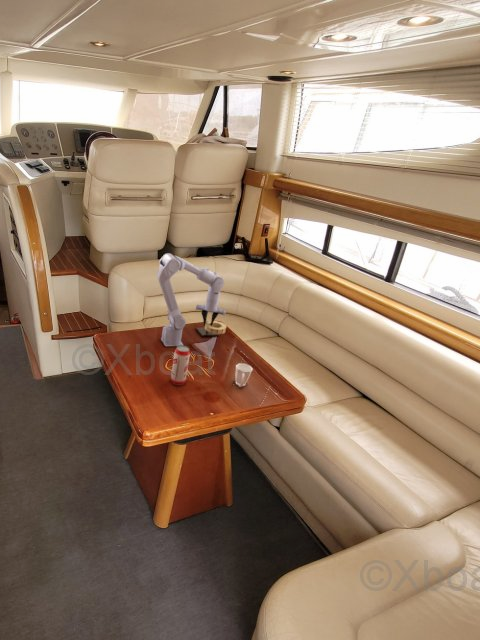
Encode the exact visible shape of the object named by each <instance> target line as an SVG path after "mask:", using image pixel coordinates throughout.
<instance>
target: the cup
mask: <svg viewBox="0 0 480 640" xmlns="http://www.w3.org/2000/svg"><path fill="white" fill-rule="evenodd" d="M253 369H254V368H253V367H252V365H249V364H248V363H237V364H236V365H235V373H234V374H235V375H234V377H235V385H237V386H238V388H242V387H245V386H246V385H247V384H246V383H247V382H248V380H249V379H250V377H251V374H252V372H253Z"/></svg>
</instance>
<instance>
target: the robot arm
mask: <svg viewBox="0 0 480 640" xmlns="http://www.w3.org/2000/svg"><path fill="white" fill-rule="evenodd" d="M158 263H159V265H158V266H159V268H158V270H157V277H156V278H157V281H158V283H159V287H160V289H161V293H162V296H163V299H164V302H165V305H166V308H167V320H168V324H167V325H166V326H163V327H162V333H161V338H160V340H161V342H162V344H163V345H164V346H165V347H177V346H181V345H182V346H184V343H183V341H182V337H183V330H184V328H185V326H186V323H187V321H186V319H185V318H184V317H183V315H182V313H181V310H180V309H179V305H178V302H177V299H176V295H175V293H174V289H173V287H172V283H171V279H172V277H173V276H174V275H175V274H176V273H177V272H178V271H180V272H181V271H183V270H185V271H187V272H189V273H192V274H193V275H195V276H196V279H197V280H198V281H201V282H202V283H205V284H207V285H208V288H207V289H208V290H207V294H206V301H205V305H202V304H196V306H195V310H197V311H201V316H202V321H203V326H205V324H206V322H207V321H208V320H207V318H208V313H212V314H211V319H210V321H211V324H210V325H211V326H212V324H213V322H215V321H216V319H217V318H218V316H219V315H222V316H226V313H227V310H225V309H222V308H219V307H218V306H219V305H218V304H219V300H220V295H221V291H222V289H223V287H224V286H225V281H224V279H223V277H221V276H220V275H219V274H217V273H216V272H213V271H210V268H208V267H200V268H199V267H198V266H196V265H194V264H192V263H191V262H189V261H187V260H185V259H184V258H182V257H180V256H177V255H173V253H170V252H167V253H164V254H163V256H161V258H160V260H159V262H158Z"/></svg>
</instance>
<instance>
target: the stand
mask: <svg viewBox="0 0 480 640" xmlns="http://www.w3.org/2000/svg"><path fill="white" fill-rule="evenodd" d="M195 331H196V332H197V333H198V334H199V335H200V336H201V338H213V337H214V338H215V337H219V334H217V333H216V334H213V333H210V332H208V331H206V330H205V326H203V327H195Z"/></svg>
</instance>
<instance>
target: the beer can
mask: <svg viewBox="0 0 480 640" xmlns="http://www.w3.org/2000/svg"><path fill="white" fill-rule="evenodd" d="M190 356H191V351H190V347H189V346H186V345H183V346H182V345H181V346H176V349H175V350H174V353H173V360H172V367H171V374H170V381H171V383H172V384H173V385H175V386H182V385H185V383H186V382H187V374H188V369H189V363H190Z"/></svg>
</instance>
